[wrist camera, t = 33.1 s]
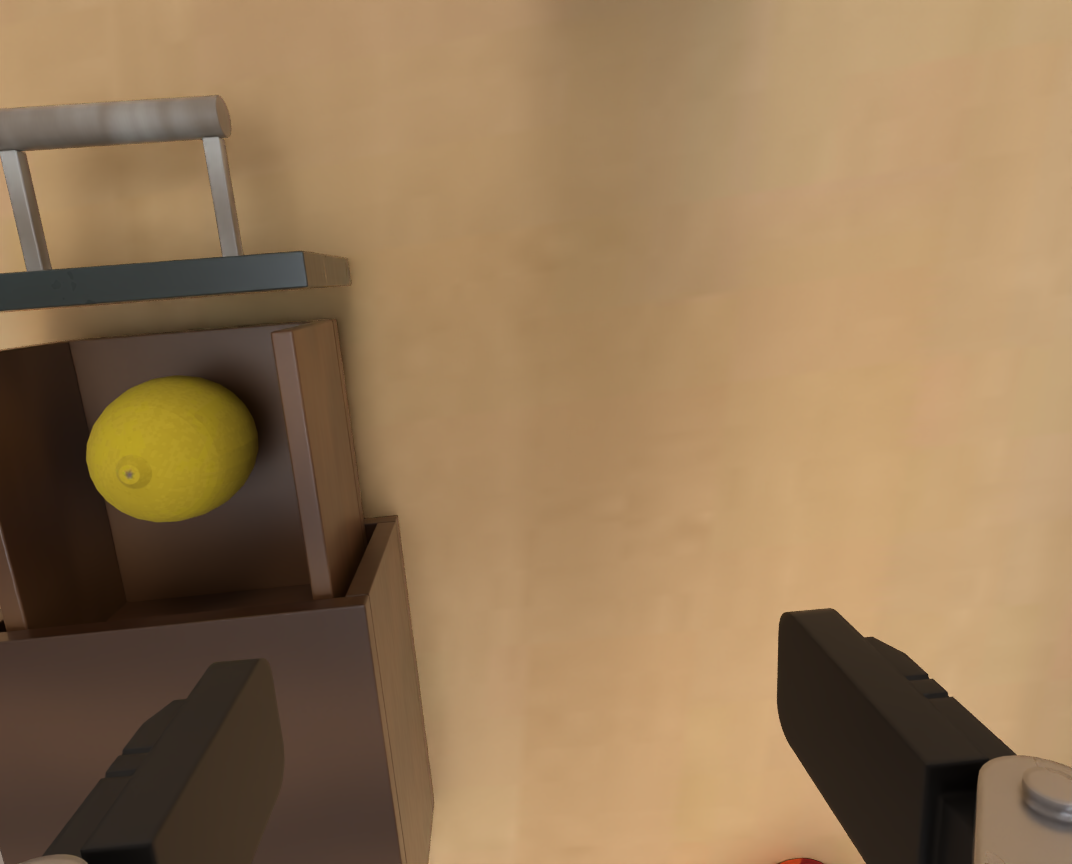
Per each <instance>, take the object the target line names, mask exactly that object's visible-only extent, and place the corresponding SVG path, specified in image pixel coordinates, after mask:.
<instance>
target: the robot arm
mask: <svg viewBox="0 0 1072 864" xmlns="http://www.w3.org/2000/svg"><path fill="white" fill-rule="evenodd" d="M777 707H778V714H779V719H780V723H781V726H782V729H783V732H784V735H785V737H786V739H787V741H788V743H789V745H790V746H791V748H792V749H793V751H794V752H795V754H796V755H797V757H798V759H799V760H800V762H801V763H802V765H803V766H804V768H805V769H806V771H807V773H808V774H809V776H810V777H811V779H812V780H813V782H814V783H815V785H816V786H817V788H818V790H819V791H820V793H821V794H822V796H823V797H824V799H825V800H826V802H827V804H828V805H829V807H830V808H831V810H832V811H833V813H834V814H835V816H836V817H837V819H838V821H839V822H840V824H841V825H842V827H843V828H844V830H845V831H846V833H847V835H848V836H849V838H850V839H851V841H852V842H853V844H854V845H855V847H856V848H857V850H858V852H859V853H860V855H861V856H862V858H863V859H864V861H865V862H866V864H1072V768H1071V767H1068V766H1066V765H1063V764H1060V763H1057V762H1054V761H1050V760H1046V759H1042V758H1037V757H1030V756H1019V755H1016V754H1015V753H1014V752H1013V751H1012V750H1011V749H1010V748H1009V747H1008V746H1006V745H1005V744H1004V743H1003V742H1002V741H1001V740H1000V739H999V738H998V737H996V736H995V735H994V734H993V733H992V732H991V731H990V730H989V729H988V728H987V727H985V726H984V725H983V724H982V723H981V722H980V721H979V720H978V719H977V718H976V717H974V716H973V715H972V714H971V713H970V712H969V711H968V710H967V709H966V708H965V707H963V706H962V705H961V704H960V703H959V702H958V701H957V700H956V699H955V698H953V697H949V696H948V692H947V691H946V690H945V689H944V688H942V687H941V686H940V685H939V684H938V683H937V682H936V681H935V680H934V679H929V677H928V674H927V673H926V672H925V671H924V670H923V669H921V668H920V667H919V666H918V665H917V664H916V663H915V662H914V661H913V660H912V659H910V658H909V657H908V656H907V655H906V654H905V653H903V652H901V651H899V650H897V649H895V648H893V647H891V646H889V645H887V644H885V643H883V642H882V641H880V640H878V639H876V638H874V637H865V638H864V637H863V636H862V635H861V634H860V633H859V632H858V631H857V630H856V629H855V628H854V627H853V626H851V625H850V624H849V623H848V622H847V621H846V620H845V619H844V618H843V617H842V616H841V615H840V614H839V613H838V612H837V611H836V610H834V609H831V608H828V609H816V610H805V611H794V612H785V613H783V614H782V616H781V618H780V622H779V636H778V678H777ZM284 763H285V754H284V743H283V737H282V731H281V725H280V719H279V713H278V706H277V700H276V694H275V688H274V682H273V676H272V671H271V667H270V664H269V662H268V661H267V660H266V659H265V658H257V659H246V660H235V661H224V662H215V663H212V664H211V665H210V666H209V667H208V669H207V670H206V671H205V673H204V674H203V676H202V677H201V678H200V680H199V681H198V683H197V684H196V686H195V687H194V688H193V690H192V691H191V693H190V694H189V696H188V697H187V698H186V699H180V700H173V701H172V702H171V703H169V704H168V705H167V706H165V707H164V708H163V709H161V710H160V711H159V712H157V713H156V714H155V715H153V716H152V717H151V718H149V719H148V720H147V721H145V722H144V723H143V724H142V725H141V726H140V728H139V729H138V730H137V732H136V733H135V734H134V736H133V737H132V738H131V740H130V741H129V742H128V743H127V745H126V746H125V747H124V749H123V750H122V755H119V756H118V757H117V758H116V759H115V761H114V762H113V763H112V765H111V766H110V767H109V768H108V770H107V771H106V772H105V778H101V779H100V780H99V782H98V783H97V784H96V786H95V787H94V788H93V790H92V791H91V792H90V793H89V795H88V796H87V797H86V799H85V800H84V801H83V803H82V804H81V805H80V807H79V808H78V809H77V811H76V812H75V813H74V814H73V816H72V817H71V818H70V820H69V821H68V822H67V824H66V825H65V826H64V828H63V829H62V830H61V832H60V833H59V834H58V836H57V837H56V838H55V839H54V841H53V842H52V843H51V845H50V846H49V847H48V849H47V850H46V851H45V853H44V854H43V855H42V857H38V858H34V859H31V860H28V861H25V862H22V863H19V864H251V863H252V861H253V858H254V856H255V853H256V851H257V848H258V846H259V843H260V841H261V838H262V836H263V833H264V831H265V828H266V826H267V823H268V820H269V818H270V815H271V813H272V810H273V808H274V805H275V803H276V800H277V798H278V795H279V792H280V789H281V786H282V781H283V775H284Z"/></svg>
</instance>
